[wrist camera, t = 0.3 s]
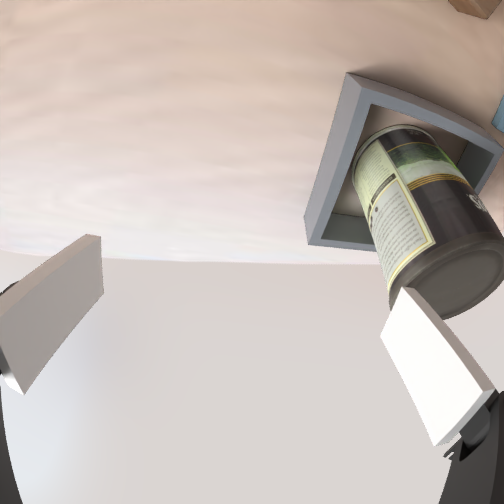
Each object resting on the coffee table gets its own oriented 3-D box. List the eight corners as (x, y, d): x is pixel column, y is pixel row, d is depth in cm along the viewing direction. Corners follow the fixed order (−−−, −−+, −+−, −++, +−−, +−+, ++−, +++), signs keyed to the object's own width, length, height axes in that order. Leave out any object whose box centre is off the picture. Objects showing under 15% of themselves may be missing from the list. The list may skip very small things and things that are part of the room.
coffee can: (416, 104, 19) (513, 215, 10) (451, 177, 24) (512, 285, 15) (328, 163, 25) (366, 297, 16) (379, 221, 30) (413, 335, 21)
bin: (346, 72, 18) (361, 87, 15) (482, 128, 19) (504, 149, 16) (303, 216, 30) (308, 244, 27) (421, 233, 31) (432, 258, 29)
